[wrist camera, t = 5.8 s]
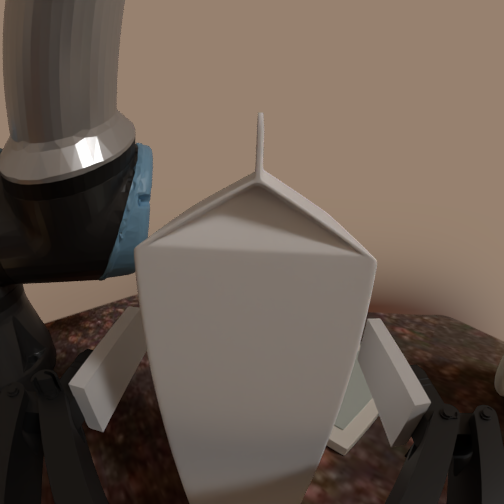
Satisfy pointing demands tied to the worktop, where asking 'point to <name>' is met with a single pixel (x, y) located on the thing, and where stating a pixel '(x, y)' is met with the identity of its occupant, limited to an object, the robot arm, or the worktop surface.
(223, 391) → the milk
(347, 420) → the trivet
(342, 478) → the worktop surface
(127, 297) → the worktop surface
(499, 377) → the pitcher
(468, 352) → the worktop surface
